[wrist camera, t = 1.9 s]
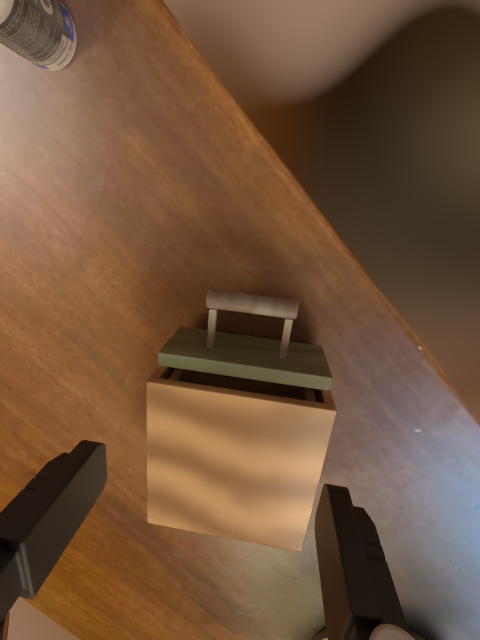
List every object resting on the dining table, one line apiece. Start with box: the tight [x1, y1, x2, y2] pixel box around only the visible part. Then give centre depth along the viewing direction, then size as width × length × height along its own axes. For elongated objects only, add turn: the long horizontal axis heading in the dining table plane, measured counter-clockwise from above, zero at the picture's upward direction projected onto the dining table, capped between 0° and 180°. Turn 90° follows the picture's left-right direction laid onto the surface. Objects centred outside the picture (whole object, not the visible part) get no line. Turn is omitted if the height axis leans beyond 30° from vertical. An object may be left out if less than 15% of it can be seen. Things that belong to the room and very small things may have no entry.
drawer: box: [158, 289, 332, 402], centre depth 27 cm, size 20×13×6 cm
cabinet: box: [146, 366, 337, 552], centre depth 29 cm, size 16×15×8 cm
